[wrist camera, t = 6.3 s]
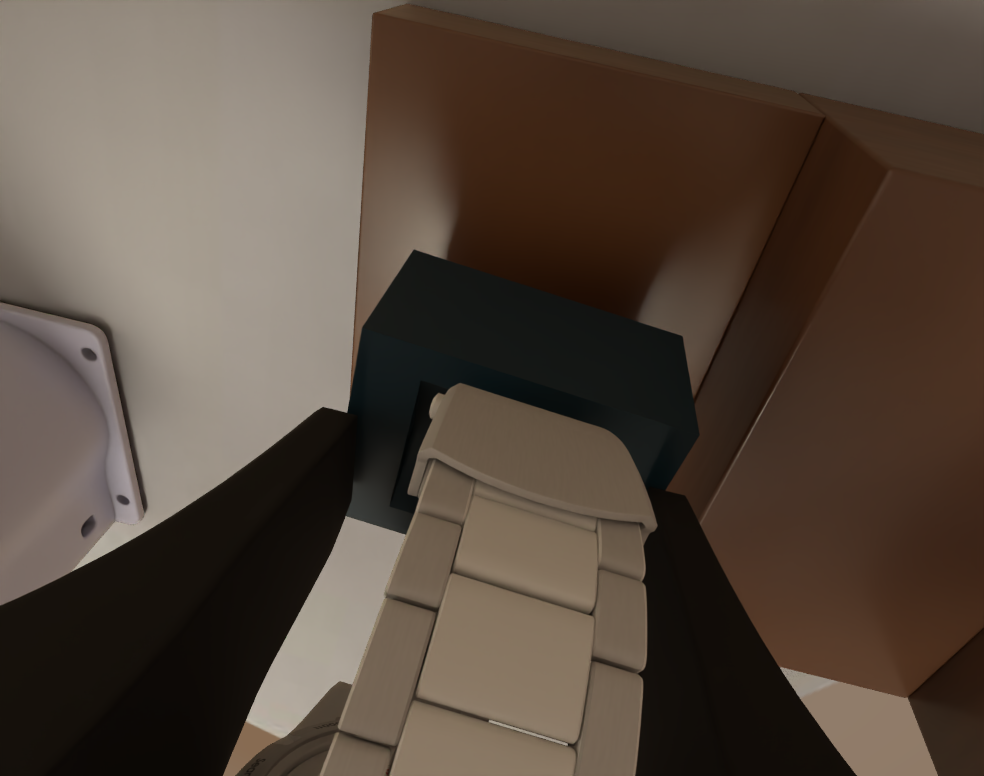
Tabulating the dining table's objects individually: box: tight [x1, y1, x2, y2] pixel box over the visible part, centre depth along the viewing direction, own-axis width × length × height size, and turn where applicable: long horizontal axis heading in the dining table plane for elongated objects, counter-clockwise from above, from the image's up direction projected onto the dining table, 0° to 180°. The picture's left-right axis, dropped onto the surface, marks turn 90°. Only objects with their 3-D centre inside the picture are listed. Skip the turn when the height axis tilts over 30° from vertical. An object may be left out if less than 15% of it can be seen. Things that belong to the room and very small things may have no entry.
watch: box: [236, 250, 700, 776], centre depth 9 cm, size 6×8×11 cm
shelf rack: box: [350, 4, 984, 776], centre depth 14 cm, size 12×17×10 cm
